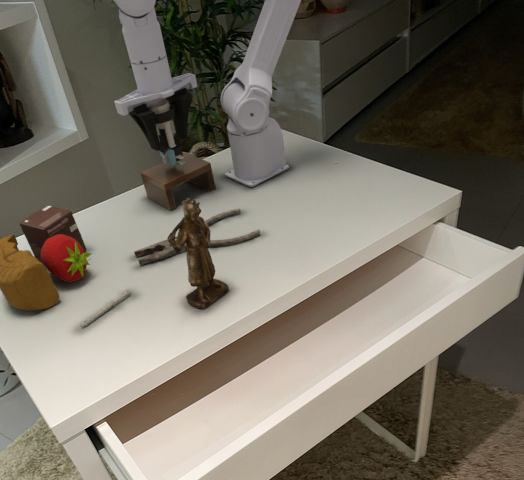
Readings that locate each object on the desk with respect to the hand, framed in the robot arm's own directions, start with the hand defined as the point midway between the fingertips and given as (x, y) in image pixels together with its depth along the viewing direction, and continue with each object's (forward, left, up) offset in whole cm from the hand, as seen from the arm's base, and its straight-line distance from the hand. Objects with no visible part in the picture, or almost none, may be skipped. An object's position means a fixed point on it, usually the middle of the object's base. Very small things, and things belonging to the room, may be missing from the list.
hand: (169, 143), depth 97 cm
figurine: (+16, +29, -10) cm, 35 cm away
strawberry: (+29, +4, -6) cm, 30 cm away
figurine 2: (+33, -2, -7) cm, 33 cm away
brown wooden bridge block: (0, 0, -9) cm, 9 cm away
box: (+25, +1, -10) cm, 27 cm away
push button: (0, 0, -4) cm, 4 cm away
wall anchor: (+27, +20, -9) cm, 35 cm away
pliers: (+8, +17, -10) cm, 21 cm away
